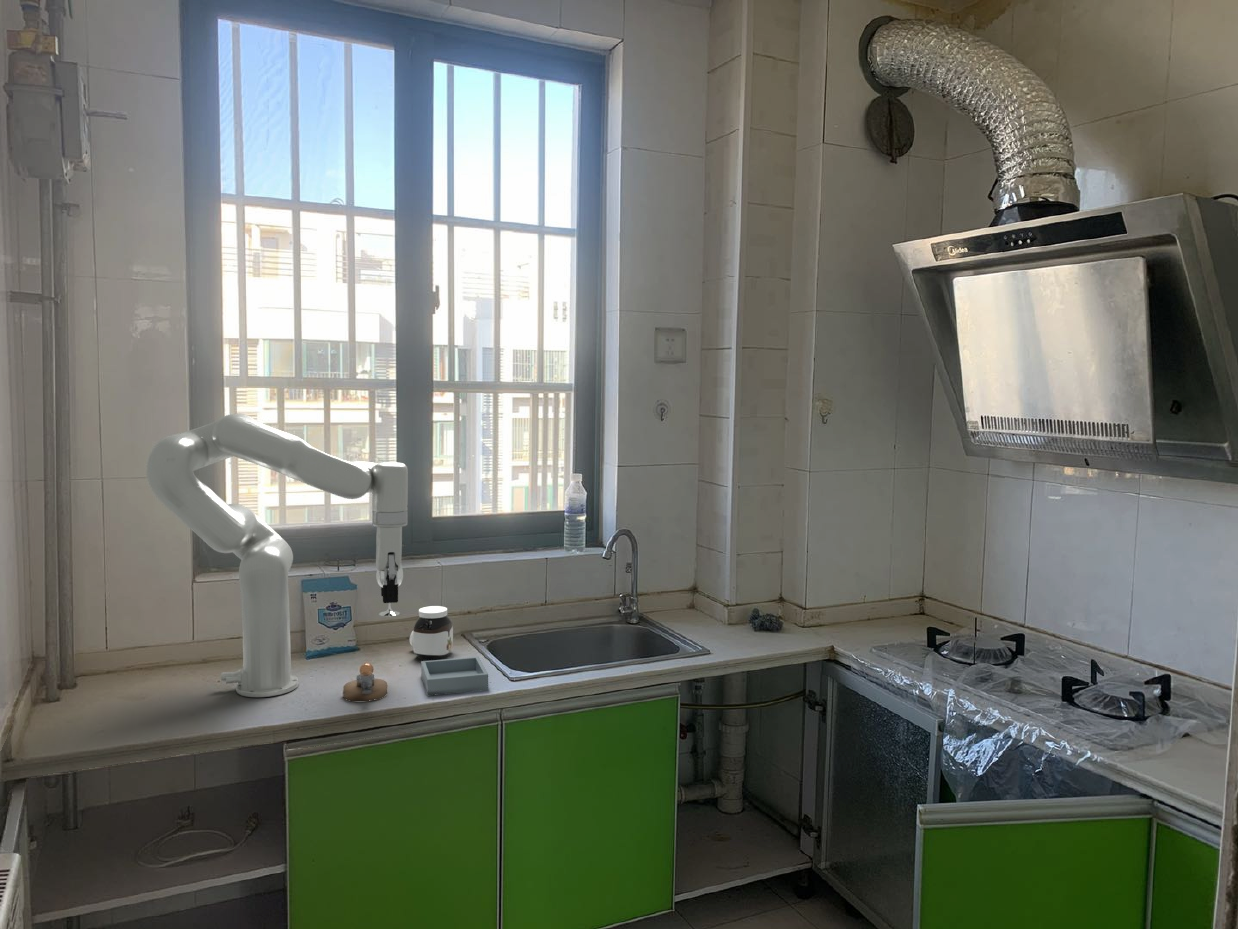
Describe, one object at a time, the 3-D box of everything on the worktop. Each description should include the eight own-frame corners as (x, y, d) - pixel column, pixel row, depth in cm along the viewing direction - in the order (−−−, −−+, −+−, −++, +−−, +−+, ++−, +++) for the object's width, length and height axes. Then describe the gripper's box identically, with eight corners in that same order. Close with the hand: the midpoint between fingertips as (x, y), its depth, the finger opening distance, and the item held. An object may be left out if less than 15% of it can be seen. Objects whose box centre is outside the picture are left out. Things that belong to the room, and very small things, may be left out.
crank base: (343, 704, 180) (343, 694, 180) (343, 689, 189) (343, 680, 189) (388, 699, 183) (388, 690, 183) (386, 685, 192) (385, 676, 191)
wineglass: (380, 610, 197) (380, 557, 196) (405, 611, 197) (406, 558, 196) (372, 616, 191) (372, 562, 190) (398, 617, 191) (399, 563, 190)
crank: (356, 682, 187) (356, 651, 186) (373, 681, 188) (373, 650, 187) (358, 698, 177) (357, 666, 177) (376, 697, 178) (375, 664, 178)
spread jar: (436, 664, 207) (436, 616, 206) (395, 658, 211) (394, 611, 210) (461, 650, 218) (461, 604, 217) (422, 645, 222) (421, 600, 221)
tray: (427, 695, 186) (427, 679, 185) (421, 676, 198) (421, 661, 198) (488, 689, 190) (488, 674, 189) (478, 671, 202) (478, 656, 202)
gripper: (370, 513, 199) (370, 591, 201) (374, 524, 183) (373, 609, 184) (404, 512, 202) (403, 589, 203) (410, 524, 185) (410, 607, 187)
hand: (389, 598), depth 194 cm, fingers closed on wineglass, 5 cm apart
